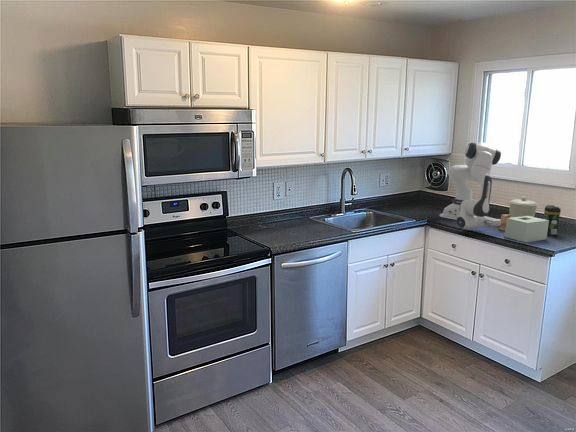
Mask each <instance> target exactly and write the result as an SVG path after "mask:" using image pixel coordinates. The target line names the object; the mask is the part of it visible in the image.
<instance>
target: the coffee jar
mask: <svg viewBox="0 0 576 432" xmlns="http://www.w3.org/2000/svg"><path fill="white" fill-rule="evenodd" d="M561 212H562V211H561V207H559V206H556V205H553V204H552V205H551V204H548V205H545V206H544V215H543V219H545V220H549V225H548V231H547V236H557V235H558V230H559V223H560V222H559V220H560V215H561Z"/></svg>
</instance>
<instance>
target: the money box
mask: <svg viewBox="0 0 576 432" xmlns="http://www.w3.org/2000/svg"><path fill="white" fill-rule="evenodd" d="M548 225H549V220H545V219H544V218H540V217H535V216H534V217H531V216H522V217H512V218H507V220H506V228H505V230H504V235H503V236H504V238H507V239H511V240H515V241H518V242H521V243H532V242H537V241H538V242H539V241H545V240H547V237H548V235H547V231H548Z"/></svg>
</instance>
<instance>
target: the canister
mask: <svg viewBox="0 0 576 432" xmlns="http://www.w3.org/2000/svg"><path fill="white" fill-rule="evenodd" d="M508 203H509V207H508V208H509V212H508V213H509V215H511V218H512V217H522V216H531V217H535V215H536V211H537V208H538V206H539V204H538V203H537V202H536V201H533V200H528V197H527V196H524V195H522V196H521V198H520V199H511V200H509V201H508Z"/></svg>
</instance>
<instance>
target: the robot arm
mask: <svg viewBox="0 0 576 432" xmlns="http://www.w3.org/2000/svg"><path fill="white" fill-rule="evenodd" d="M464 155H465V161H464V162H465V164H455V165H450V167H449V169H448V171H447V175H448V177H449V179H451V181H453V184H454V185H455V198H453V199H451V201H452V203H451V204H449V205H447V206H445V208H443V212H442V213H440V214H439V217H440V218H445V219H448V220H449V219H451V220H456V224H457V226H458V227H459V228H461V229H464V230H466V229H473V228H474V229H477V228H483V227H485V226H486V225H487V226H494V227H495V226H496V227H497V226H499V227H500V225H501V218H493V217H490V216H488V214H489V212H490V209H491V208H490V207H491V206H490V202H491V201H490V200H491V193H492V183H493V180H492V177H491V174H490V173H491V171H492V165H497V164H498V163H499V161H500V159H501V157H502V151H501V150H499V149H498V148H494V147H492V146H489V145H488V144H487V143H485V142H481V141H480V142H470V143H468V145H466V147H465V150H464ZM467 181H472V182H476V183H478V184H480V186H481V188H480V195H479V198H478V199H473V193H474V191H473V188H472V187H471V186H470V185H469V184H467Z"/></svg>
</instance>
